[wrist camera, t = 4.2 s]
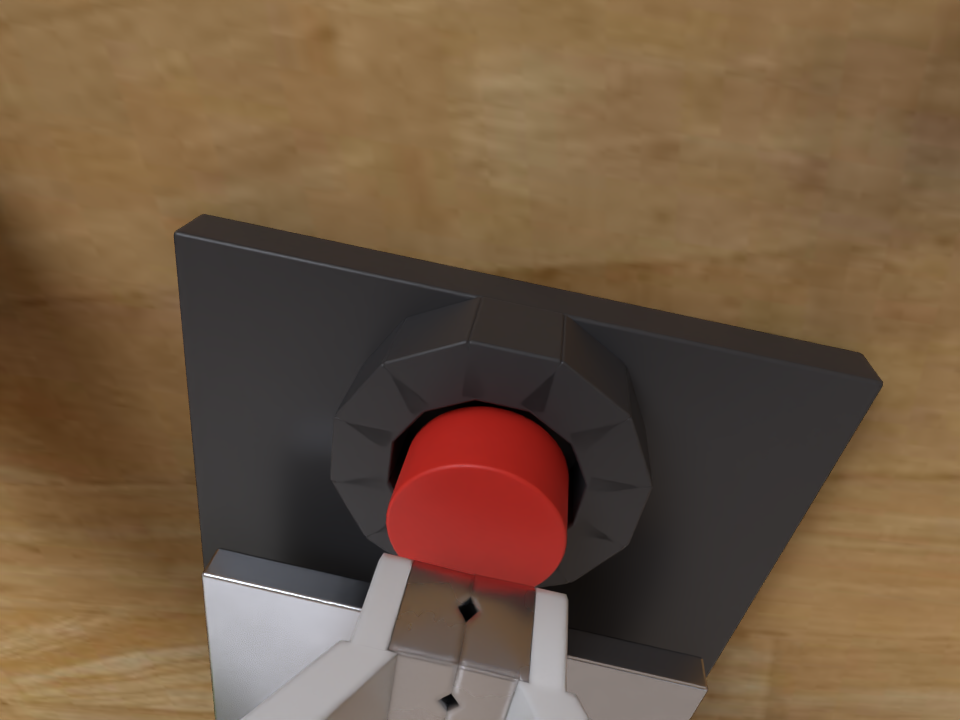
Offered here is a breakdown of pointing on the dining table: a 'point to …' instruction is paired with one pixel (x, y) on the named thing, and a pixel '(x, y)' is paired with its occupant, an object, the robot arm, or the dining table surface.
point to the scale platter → (333, 617)
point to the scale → (512, 386)
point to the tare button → (482, 496)
